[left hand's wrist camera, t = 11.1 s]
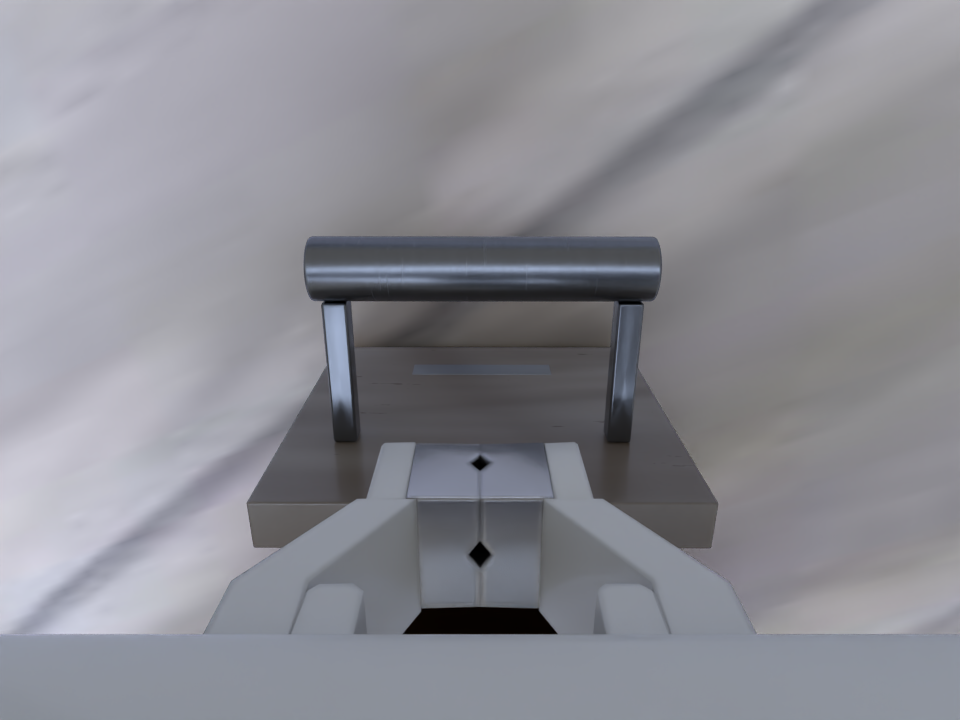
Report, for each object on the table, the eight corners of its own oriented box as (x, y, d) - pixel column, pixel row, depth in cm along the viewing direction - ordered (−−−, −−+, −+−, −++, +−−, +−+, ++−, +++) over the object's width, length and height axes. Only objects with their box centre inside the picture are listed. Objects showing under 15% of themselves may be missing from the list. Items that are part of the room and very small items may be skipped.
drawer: (324, 197, 21) (209, 267, 12) (639, 197, 21) (758, 268, 12) (369, 718, 29) (321, 984, 21) (592, 719, 29) (640, 984, 21)
